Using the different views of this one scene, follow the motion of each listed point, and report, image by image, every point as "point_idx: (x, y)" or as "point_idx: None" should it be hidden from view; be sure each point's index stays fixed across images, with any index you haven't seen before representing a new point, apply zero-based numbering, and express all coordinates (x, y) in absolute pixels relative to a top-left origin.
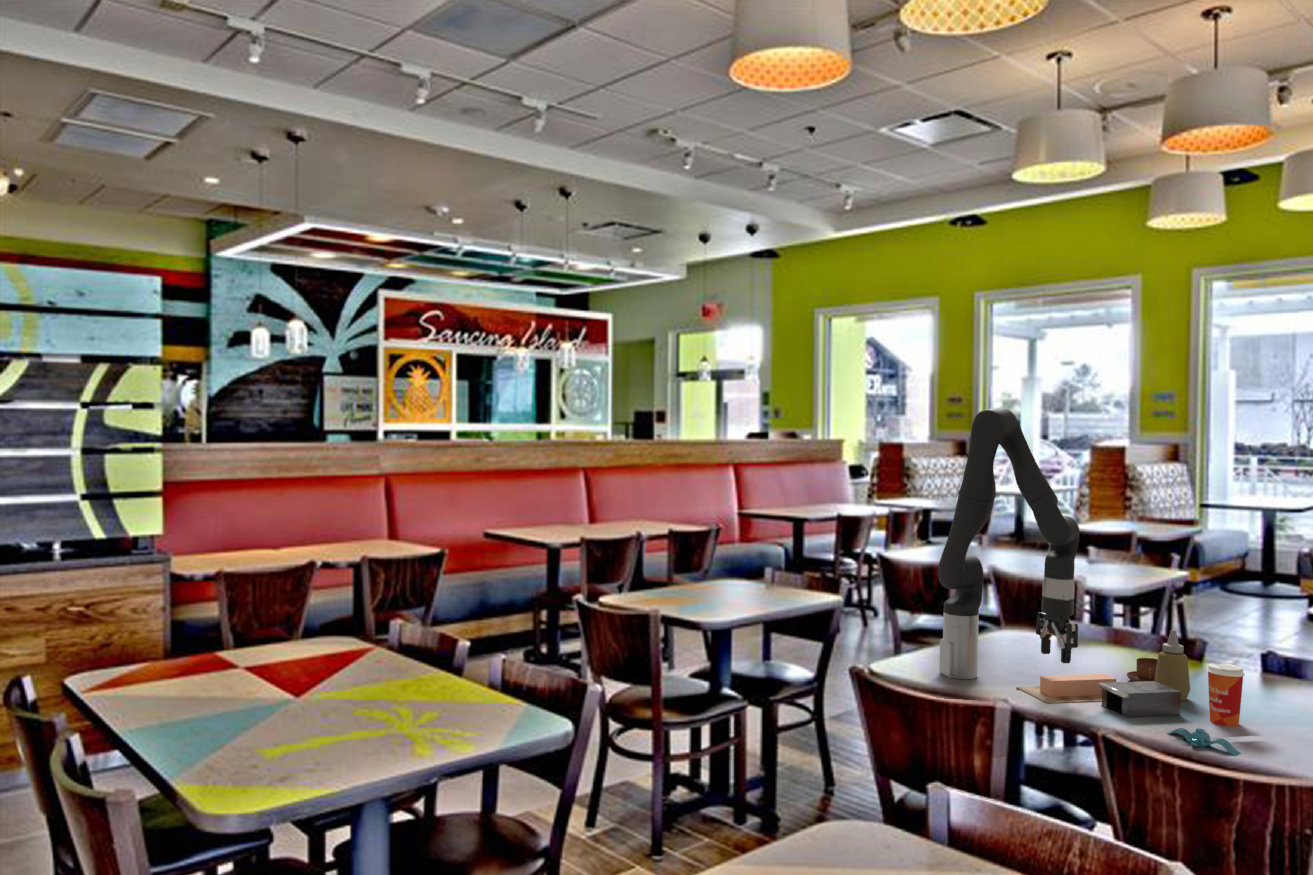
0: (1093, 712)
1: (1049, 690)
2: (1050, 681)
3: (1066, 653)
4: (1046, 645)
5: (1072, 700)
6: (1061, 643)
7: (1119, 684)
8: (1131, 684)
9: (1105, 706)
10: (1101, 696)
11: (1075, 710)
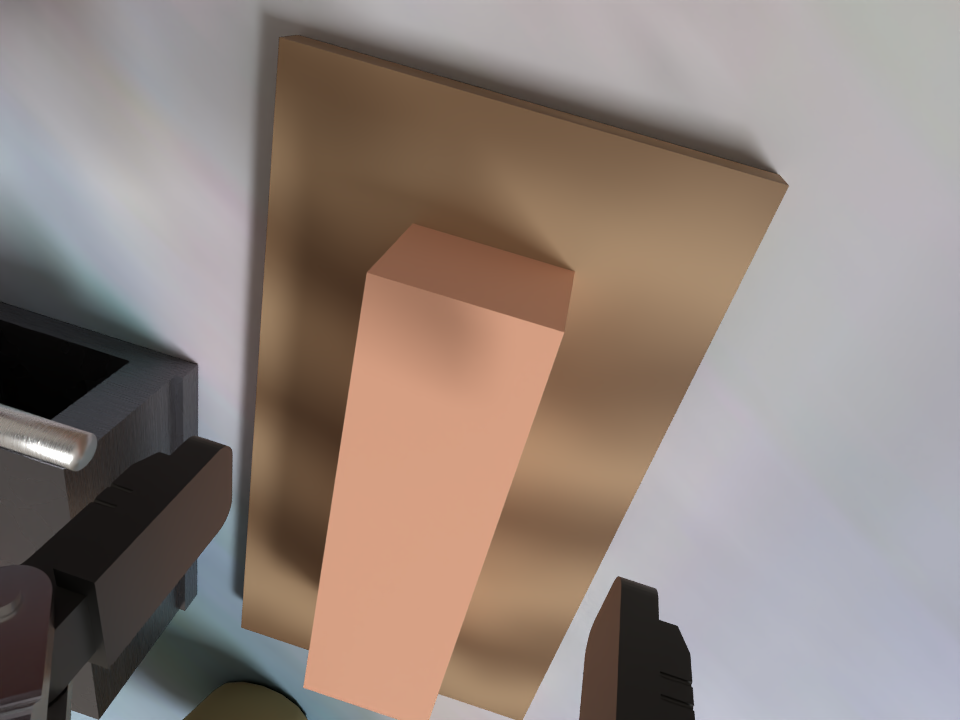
0: (144, 269)
1: (425, 245)
2: (389, 274)
3: (66, 528)
4: (597, 709)
5: (290, 291)
6: (23, 645)
7: (21, 526)
8: None
9: (134, 365)
10: (328, 517)
11: (197, 194)
